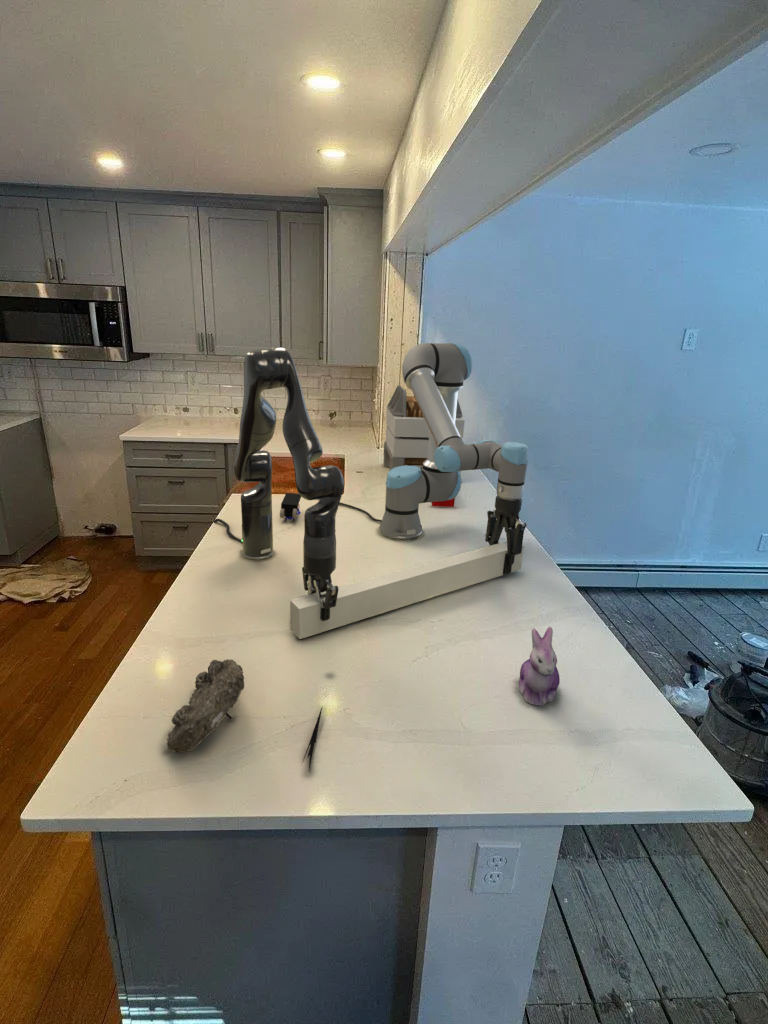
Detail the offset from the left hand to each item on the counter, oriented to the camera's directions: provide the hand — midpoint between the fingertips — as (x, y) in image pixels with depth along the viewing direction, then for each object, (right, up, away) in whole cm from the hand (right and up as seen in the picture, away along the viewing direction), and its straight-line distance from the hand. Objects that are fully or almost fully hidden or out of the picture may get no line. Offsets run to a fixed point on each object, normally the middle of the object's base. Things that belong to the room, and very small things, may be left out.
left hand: (319, 614), depth 137 cm
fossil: (-17, -14, -29) cm, 36 cm away
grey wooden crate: (+33, +44, +138) cm, 148 cm away
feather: (+3, -15, -28) cm, 32 cm away
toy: (+39, +31, +105) cm, 116 cm away
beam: (+25, +2, +18) cm, 31 cm away
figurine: (+48, -13, -18) cm, 53 cm away
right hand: (+51, +7, +35) cm, 62 cm away
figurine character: (-19, +23, +73) cm, 79 cm away
